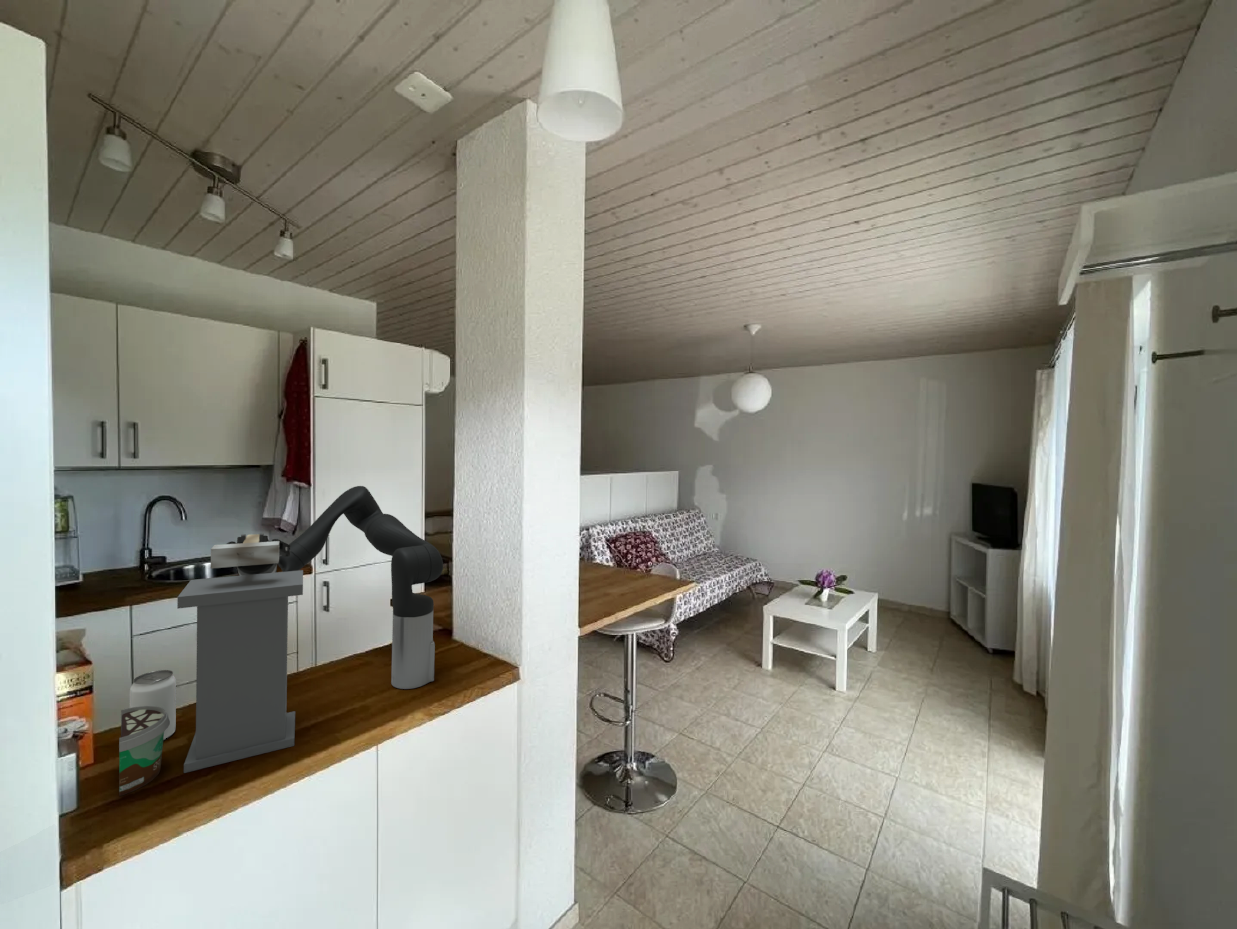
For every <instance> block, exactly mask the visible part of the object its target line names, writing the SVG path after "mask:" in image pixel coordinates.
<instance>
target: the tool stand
mask: <svg viewBox="0 0 1237 929" xmlns="http://www.w3.org/2000/svg"><path fill="white" fill-rule="evenodd" d="M303 592H304V570H303V569H300V570H299V571H288V572H283V571H278V572H276V573H265V574H253V575H242V576H239V575H233V576H232V575H231V576H222V577H221V576H220V577H211V578H210V577H209V578H198V579H197V578H196V579H191V580H189V582H188V583H187V585H186V586H185V587H184V589H182V591H181V592H180V593H179V594H178V596H177V600H176V601H177V602H176V603H177V609H179V610H180V609H186V608H196V681H195V684H196V688H195V689H196V690H195V692H196V693H195V694H196V695H195V696H196V697H195V698H196V699H195V702H196V703H195V704H196V706H195V733H194V736H193V739H192V742H191V743H190V744H191V745H190V746H189V749H188V752H187V755H186V758H185V760H184V763H183V773H184V774H186V773H190V772H194V771H198V770H203V769H206V768H209V767H213V766H214V767H215V766H218V765H222V764H226V763H229V762H235V761H237V760H242V759H246V758H250V757H254V756H258V755H262V754H267V753H270V752H275V751H278V750H283V749H286V748H290V747H295V734H296V732H295V731H296V711H290V712H287V705H288V704H287V703H288V702H287V700H288V699H287V698H288V697H287V694H288V693H287V692H288V690H287V689H288V688H287V687H288V629H289V628H288V627H289V625H288V624H289V622H288V621H289V612H288V611H289V597H294V596H295V597H296V596H303V594H304V593H303Z"/></svg>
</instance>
